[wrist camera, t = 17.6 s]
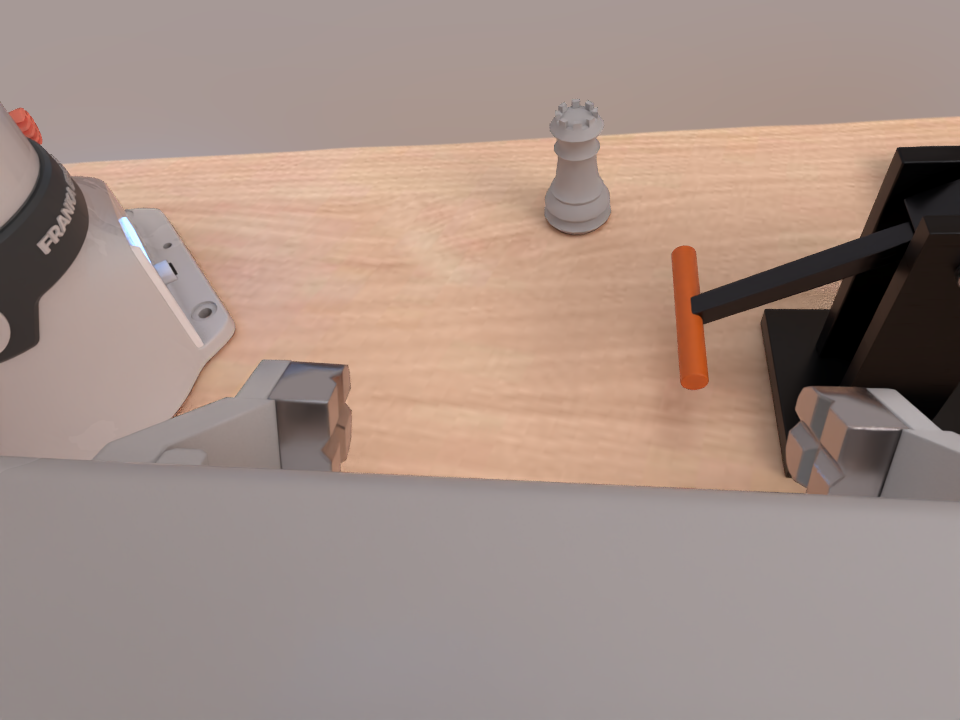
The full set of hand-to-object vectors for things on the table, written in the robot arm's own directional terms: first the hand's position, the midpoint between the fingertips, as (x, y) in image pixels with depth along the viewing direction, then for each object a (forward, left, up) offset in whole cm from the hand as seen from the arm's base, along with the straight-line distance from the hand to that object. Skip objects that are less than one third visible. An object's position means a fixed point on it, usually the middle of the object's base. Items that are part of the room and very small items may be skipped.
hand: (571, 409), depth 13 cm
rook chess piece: (-26, +14, -22) cm, 37 cm away
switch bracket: (-6, +20, -22) cm, 31 cm away
